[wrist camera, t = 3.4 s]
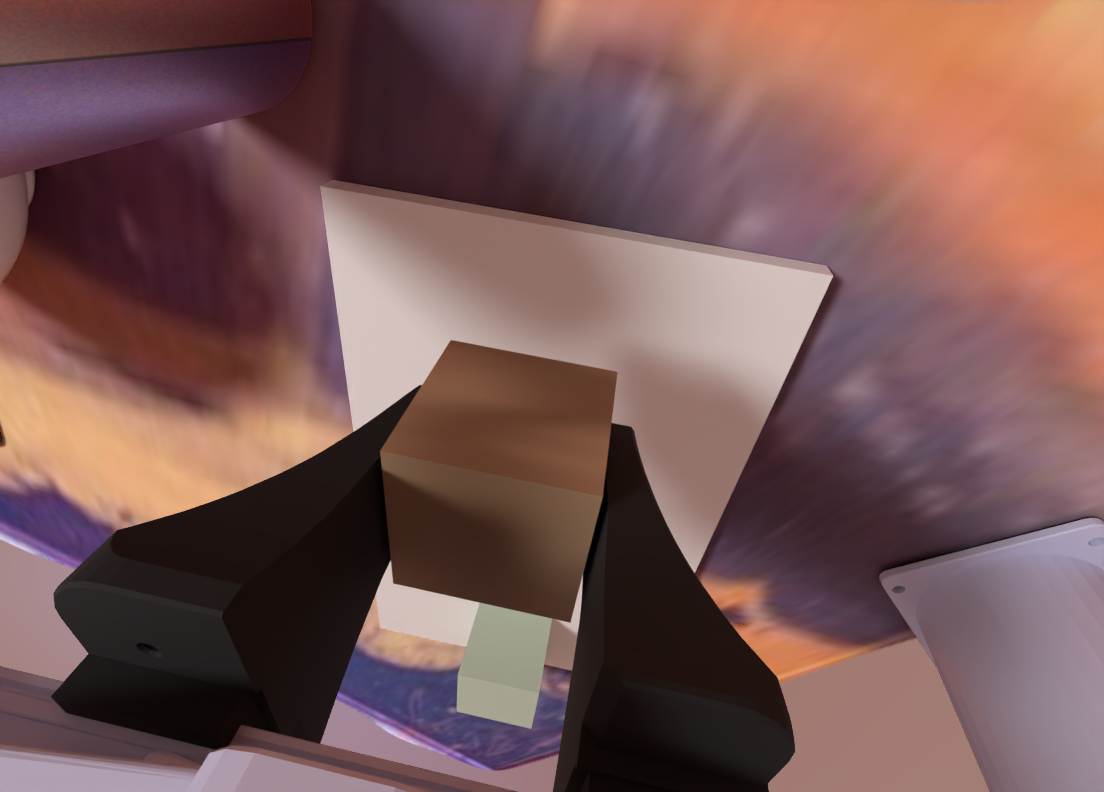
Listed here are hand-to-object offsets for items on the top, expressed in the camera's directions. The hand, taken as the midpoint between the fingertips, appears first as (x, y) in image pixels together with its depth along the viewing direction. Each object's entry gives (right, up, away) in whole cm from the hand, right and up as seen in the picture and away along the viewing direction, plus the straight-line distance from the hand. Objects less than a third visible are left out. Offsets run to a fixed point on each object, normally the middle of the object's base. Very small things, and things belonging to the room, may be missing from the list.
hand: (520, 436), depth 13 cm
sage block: (-1, -12, +17) cm, 21 cm away
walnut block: (0, 0, +1) cm, 1 cm away
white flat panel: (0, -4, +12) cm, 12 cm away
